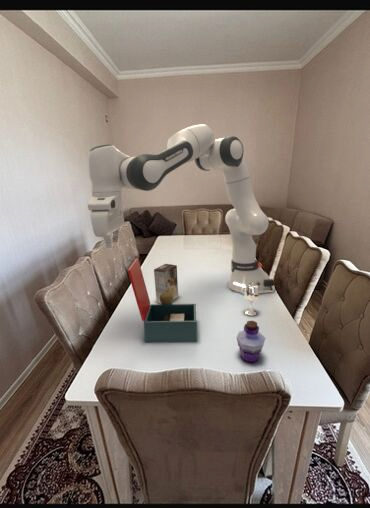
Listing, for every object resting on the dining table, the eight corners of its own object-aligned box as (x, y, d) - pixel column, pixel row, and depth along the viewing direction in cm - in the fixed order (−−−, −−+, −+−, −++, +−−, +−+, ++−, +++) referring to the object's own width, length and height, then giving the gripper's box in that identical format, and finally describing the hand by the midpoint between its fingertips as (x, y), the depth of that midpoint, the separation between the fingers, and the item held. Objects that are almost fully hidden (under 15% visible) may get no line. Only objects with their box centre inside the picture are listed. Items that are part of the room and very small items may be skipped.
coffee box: (167, 294, 120) (165, 263, 116) (178, 297, 117) (177, 265, 112) (155, 302, 113) (153, 269, 108) (167, 305, 110) (165, 271, 105)
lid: (138, 257, 90) (135, 258, 90) (129, 270, 78) (127, 270, 78) (150, 303, 95) (148, 303, 95) (144, 321, 83) (142, 321, 83)
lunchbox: (196, 321, 97) (195, 303, 95) (196, 341, 85) (196, 321, 83) (150, 322, 97) (149, 304, 95) (145, 342, 85) (143, 322, 83)
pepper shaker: (173, 324, 95) (171, 298, 92) (157, 322, 97) (156, 296, 93) (176, 315, 101) (175, 291, 98) (162, 314, 102) (160, 290, 99)
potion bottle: (246, 344, 83) (248, 312, 79) (270, 357, 77) (273, 323, 73) (229, 356, 78) (230, 322, 74) (253, 371, 71) (255, 335, 68)
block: (184, 325, 93) (184, 313, 92) (184, 333, 88) (184, 321, 87) (171, 325, 93) (170, 313, 92) (170, 333, 89) (169, 321, 87)
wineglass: (259, 316, 99) (261, 288, 95) (245, 316, 99) (246, 289, 95) (255, 309, 104) (257, 282, 101) (241, 309, 104) (243, 283, 101)
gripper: (108, 199, 88) (113, 237, 92) (84, 204, 68) (91, 253, 72) (126, 198, 87) (130, 237, 92) (107, 204, 68) (113, 252, 72)
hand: (113, 244), depth 82 cm, fingers open, 5 cm apart
